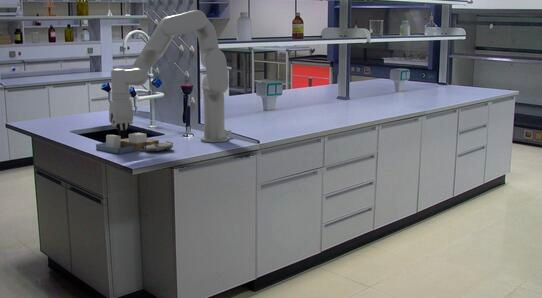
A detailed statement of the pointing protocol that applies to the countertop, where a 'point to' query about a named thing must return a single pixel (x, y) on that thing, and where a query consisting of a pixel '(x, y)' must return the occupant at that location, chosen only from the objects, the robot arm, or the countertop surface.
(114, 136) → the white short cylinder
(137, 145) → the board
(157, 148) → the stone
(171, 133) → the countertop surface
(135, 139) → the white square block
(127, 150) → the box
